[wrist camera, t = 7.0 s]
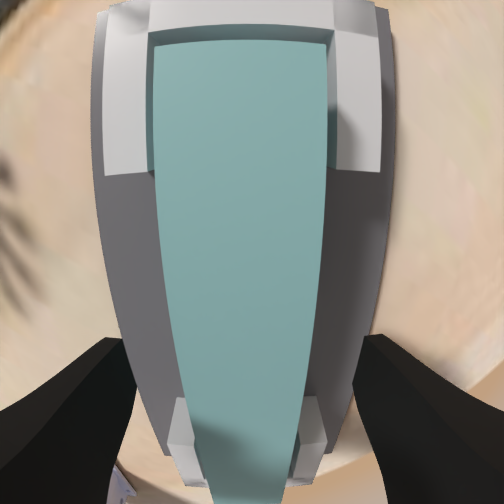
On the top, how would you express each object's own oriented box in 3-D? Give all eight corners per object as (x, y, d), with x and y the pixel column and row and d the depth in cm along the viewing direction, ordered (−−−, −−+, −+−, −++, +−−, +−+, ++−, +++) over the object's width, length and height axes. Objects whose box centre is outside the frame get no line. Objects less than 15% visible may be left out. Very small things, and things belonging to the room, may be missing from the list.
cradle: (328, 441, 17) (339, 488, 13) (166, 444, 17) (157, 491, 13) (378, 17, 8) (425, -19, 5) (107, 20, 8) (59, -15, 5)
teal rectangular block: (273, 426, 15) (281, 503, 10) (219, 426, 14) (214, 504, 10) (287, 88, 9) (325, 44, 4) (196, 89, 9) (155, 46, 4)
